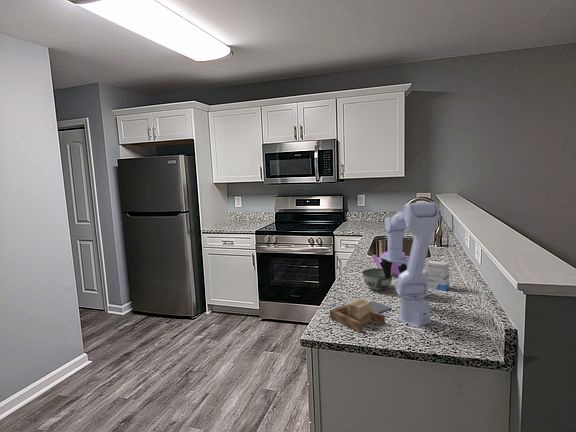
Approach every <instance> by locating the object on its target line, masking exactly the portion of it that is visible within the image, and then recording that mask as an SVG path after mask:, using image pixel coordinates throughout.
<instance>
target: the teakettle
mask: <svg viewBox="0 0 576 432" xmlns="http://www.w3.org/2000/svg"><path fill="white" fill-rule="evenodd" d="M381 255H386V256H388V250H387V251H384V252H383V253H381ZM403 257H404V259H407V260H409V257H410V255H406V253H405V252H403ZM371 258H372V259H373V260H374V262H375V264H376V265H377V268H381V269H382V267H381V265H380V262H382V261H381V260H380V257H378V256H377V255H376V254H371ZM398 266H402V265H401V264H397V263H392V266H391V271H392V272H393V277H399V274H400V272H399V269H398Z"/></svg>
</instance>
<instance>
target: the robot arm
mask: <svg viewBox="0 0 576 432" xmlns="http://www.w3.org/2000/svg"><path fill="white" fill-rule="evenodd" d="M439 219H440V210H439V206H438V203H436V202H435V201H430V202H429V201H428V202H413V203H409V202H406V203H405V204H404V205H403V209H402V210H397V213H395V214H394V215H393V216H392V217H388V216H387V217H386V218H385V220H384V228H385V231H386V232H387V236H386V237H387V251H388V256H386V255H382V254H381V255H379V259H380V260H381V261H382V262H380V265H381V267H382V269H383V271H384V274H385V278H386V279H390V278H391V266H392V263H397V264H401V265H402V266H398V269H399V272H400V274H399V276H397V279H396V280H395V285H394V287H395V292H396V294H397V295H398V296H399V297H400V315H399V316H397V317H395V320H398V321H400V322H402V323H405V324H407V325H410V326H412V327H415V328H419V327H422V326H424V325H427V324H429V323H431V322H432V319H431V305H430V302H429V301H428V300H426V299H425V297H424V295H425V294H426V293H427V291H428V290H429V288H428V279H427V277H426V275H425V274H424V273H423V270H424V267H425V264H426V259H427V255H428V251H429V248H430V243H431V240H432V237H433V236H432V235H433V232H435V231H436V230H437V226H438V222H439ZM406 228H407V231H408V232H409V233H412V234H414V235H413V240H412V244H411V248H410V253H409V256H410V257H409V260H408V259H404V257H403V250H404V249H403V246H404V245H403V244H404V243H403V241H404V240H403V237H404V236H405V229H406ZM428 292H429V291H428Z"/></svg>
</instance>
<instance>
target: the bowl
mask: <svg viewBox="0 0 576 432" xmlns="http://www.w3.org/2000/svg"><path fill="white" fill-rule="evenodd" d="M361 274H362V275H363V276H362V278H363V281H364V283H365V285H366V286H367V287H368V288H370V289H371V290H372V291H374V292H375V291H376V292H382V291H385V290H386V288H388V287H389V286H390V285H391V284H392V282H393V277H394V276H393V272H392V271H391V278H390V279H386V278H385V274H384V271H383V269H381V268H379V267H376V268H369V269H368V268H367V269H364V270H363V271H362V272H361Z"/></svg>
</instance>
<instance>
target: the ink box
mask: <svg viewBox="0 0 576 432" xmlns="http://www.w3.org/2000/svg"><path fill="white" fill-rule="evenodd" d="M425 264H426V265H425V266H426V268H425V269H426V270H425V271H428V289H434V290H440V291H443V292H444V291H445V292H446V291H447V290H449V289H450V263H449V262H446V261H445V262H443V261H435V260H429V261H428V262H425Z"/></svg>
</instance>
